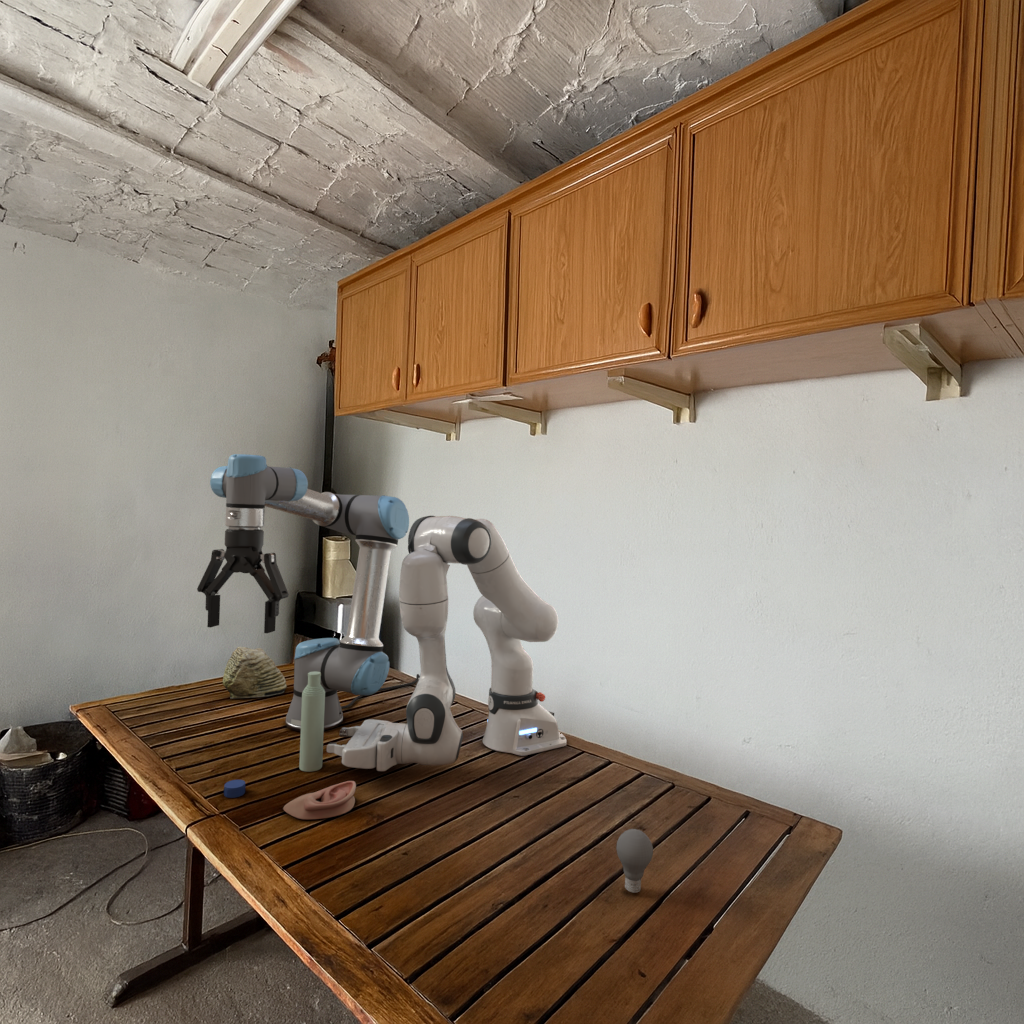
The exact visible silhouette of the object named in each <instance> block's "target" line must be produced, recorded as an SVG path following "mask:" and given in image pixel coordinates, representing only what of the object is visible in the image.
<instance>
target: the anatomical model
mask: <svg viewBox="0 0 1024 1024" xmlns="http://www.w3.org/2000/svg"><path fill="white" fill-rule="evenodd" d="M356 790H357V783H356V781H354V780H347V781H343V782H340V783H336V784H333V785H330V786H328V787H325V788H323V789H320V790H318V791H315V792H309V793H306V794H302V795H300V796H298V797H296V798H294V799H292V800H290V801H289V802H287V803H286V804H285V805H284V806H283V807H282V810H283V812H285V813H287V814H288V815H289V816H292V817H294V818H296V819H299V820H319V819H320V820H321V819H328V818H333V817H337V816H341V815H343V814H347V813H348V812H350V811H351V810H352V809H353V808H354V806H355V803H356V798H355V796H354V795H355V793H356Z"/></svg>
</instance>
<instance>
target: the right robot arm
mask: <svg viewBox="0 0 1024 1024" xmlns="http://www.w3.org/2000/svg"><path fill="white" fill-rule="evenodd" d="M407 550H408V554H407V555H405V557H404V558H403V560H402V562H401V568H400V574H399V588H398V589H399V590H398V596H399V597H398V598H399V600H398V601H399V612H400V618H401V623H402V627H403V629H404V630H405V631H406V632H407V633H408V634H409V635H411V636H413V637H415V638H416V640H417V643H418V652H419V665H420V674H419V676H420V677H419V679H418V681H417V682H416V683H415V687H414V691H413V692H412V693H411V696H410V698H409V700H408V702H407V705H406V709H405V716H406V723H402V722H399V723H398V722H392V721H389V720H385V719H384V720H383V719H373V718H368V719H365V720H364V721H363V722H362V723H361V725H355V726H351V727H350V726H349V727H341V728H340V730H339V737H340V738H347V737H351V738H350V739H349V740H348V742H347V743H346V744H342V745H341V744H337V742H328V744H327V745H326V753H328V754H334V755H337V756H339V757H341V764H342V765H343V766H345V767H347V768H353V769H354V768H355V769H364V770H368V769H369V770H370V769H375V768H376V771H377V772H386V771H387V770H389V769H390V768H392V767H393V766H394V767H395V766H396V765H406V764H411V763H413V764H418V765H421V766H447V765H451V764H454V763H455V762H456V761H458V759H459V756H460V752H461V748H462V744H463V738H464V732H463V730H462V729H461V728H460V727H459V726H458V723H457V722H456V721H455V718H454V716H453V714H452V710H451V707H452V705H453V704H454V701H455V699H456V685H455V684H454V681H453V679H452V677H451V675H450V672H449V670H448V666H447V653H446V652H447V651H446V638H445V636H446V630H447V624H448V619H449V587H448V579H447V576H448V575H447V574H448V571H449V568H450V566H451V565H450V564H461V565H464V566H467V568H468V570H469V573H470V575H471V577H472V579H473V581H474V583H475V585H476V588H477V589H478V591H479V593H480V594H481V596H480V597H479V598H478V599H477V600H476V602H475V604H474V606H473V611H472V612H473V621H474V623H475V624H476V626H477V627H478V628H479V629H480V631H481V632H482V635H483V637H484V638H485V641H486V644H487V648H488V650H489V655H490V663H491V665H490V666H491V667H490V669H491V670H490V671H491V672H490V673H491V674H490V675H491V676H490V687H489V689H488V699H487V705H488V717H487V719H486V720H487V723H486V727H485V730H484V733H483V737H482V744H483V745H484V746H485V747H486V748H488V749H491V750H493V751H496V752H502V753H509V754H514V755H516V756H521V757H524V756H528V755H534V754H537V753H542V752H546V751H550V750H555V749H560V748H563V747H566V746H567V745H568V743H567V741H568V740H567V738H566V736H565V735H564V734H563V733H562V732H560V731H559V724H558V721H557V719H556V717H555V712H554V711H549V710H547V709H546V708H545V707H544V706H542V705H541V704H540V703H539V702H541V703H542V702H544V701H545V700H546V695H545V694H544V693H543V692H539V691H537V690H536V689H534V688H533V686H534V685H533V683H534V661H533V659H532V657H531V656H530V654H529V653H528V652H527V651H526V650H525V648H524V646H523V644H522V642H528V643H545V642H549V641H550V640H551V639H552V638H553V637H554V636H555V635H556V633H557V631H558V629H559V615H558V612H557V610H556V608H555V607H554V606H553V605H551V604H549V603H548V602H546V601H545V600H544V599H542V598H541V596H539V595H538V594H537V593H536V592H535V590H533V589H532V587H531V586H530V585H529V584H528V583H527V582H526V581H525V579H524V578H523V577H522V575H521V573H520V572H519V570H518V568H517V566H516V564H515V562H514V560H513V557H512V555H511V553H510V551H509V549H508V546H507V544H506V542H505V540H504V538H503V537H502V535H501V534H500V532H499V530H498V529H497V528H496V526H495V525H494V524H493V522H491V521H490V520H488V519H485V518H476V519H474V518H471V517H467V518H466V517H461V516H456V515H426V516H422V517H419V518H418V519H416V520H415V521H414V522H413V523H412V525H411V527H410V529H409V531H408V536H407ZM560 733H561V734H560Z"/></svg>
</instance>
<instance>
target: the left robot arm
mask: <svg viewBox="0 0 1024 1024" xmlns="http://www.w3.org/2000/svg"><path fill="white" fill-rule="evenodd" d="M209 481H210V482H209V485H210V489H211V491H212V492H213V494H215V496H217V497H219V498H222V499H223V498H224V499H225V500H226V501H225V523H224V524H225V525H224V526H226V527H227V528H226V529H225V530H224V546H225V547H226V548H225V549H223V548H220V549H213V550H212V551H211V557H210V561H209V563H208V565H207V567H206V569H205V571H204V573H203V575H202V578H201V580H200V581H199V583H198V586H197V588H196V590H197V592H198V593H202V594H204V596H205V611H207V628H214V627H217V626H220V616H221V615H220V614H221V613H220V612H221V594H219V591H220V590H221V589H222V587H224V585H225V584H226V582H227V581H228V580H229V579H230V578H231V576H232V575H233V574H234V573H237V574H238V573H241V574H249V575H250V576H252V577H253V578H254V580H255V581H256V584H258V586H259V587H260V589H261V590H262V592H263V593H264V595H265V596H266V598H267V600H266V601H265V602H264V623H263V624H264V626H263V628H264V629H263V633H264V634H270V633H273V632H275V631H276V620H277V619H276V617H279V614H280V602H281V600H283V599H287V598H288V597H289V596H290V595H289V591H288V588H287V586H286V584H285V582H284V581H285V580H284V579H283V576H282V573H281V571H280V569H279V566H278V563H277V554H276V552H267V553H263V550H262V549H263V547H264V539H265V537H264V536H265V531H264V530H263V529H262V528H264V527H265V513H266V512H265V510H266V508H269V509H272V510H276V511H280V512H284V513H287V514H291V515H293V516H298V517H301V518H306V519H308V520H312V522H313V523H314V524H315V525H317V526H320V527H322V528H323V527H324V528H327V529H330V530H333V531H336V532H339V533H342V534H346V535H350V536H355V538H354V539H355V540H354V542H355V543H356V544H357V545H358V547H359V551H358V556H357V557H358V558H357V564H356V569H355V577H354V578H355V579H354V584H353V590H352V596H351V597H352V598H351V604H350V610H349V617H348V623H347V631H346V635H345V636H344V637H343V638H342V639H340V640H339V638H336V637H322V638H313V639H307V640H304V641H302V642H299V643H298V644H297V645H296V647H295V652H294V653H295V654H294V657H293V659H294V660H293V662H294V663H293V665H294V667H293V695H292V696H293V697H292V699H291V702H290V704H289V708H288V711H287V713H286V715H285V726H286V728H287V729H289V730H291V731H294V732H295V731H296V732H301V710H302V692H303V690H304V689H305V687H306V686H307V685H308V673H309V672H314V671H317V672H320V673H321V679H320V684H321V686H322V687H323V688H324V690H325V709H324V732H325V731H329V730H332V729H335V728H337V727H339V726H340V725H342V723H343V722H344V714H343V710H345V709H349V708H350V707H351V706H353V705H354V704H355V702H356V701H358V700H359V699H361V698H363V697H365V696H372V695H374V694H376V693H377V692H382V691H387V690H388V691H389V690H395V689H399V688H404V687H409V686H412V685H416V684H417V682H418V680H419V677H420V674H419V673H417V674H416V678H415V680H413V681H411V682H407V683H402V684H397V685H392V686H385V687H383V685H384V684H385V682H386V680H387V678H388V675H389V672H390V660H389V656H388V655H387V654H386V653H385V652H384V651H383V650H384V644H383V642H382V641H381V640H380V631H381V624H382V617H383V610H384V605H385V604H384V603H385V595H386V589H387V582H388V577H389V568H390V563H391V562H390V561H391V553H392V552H393V551H394V550H395V549H396V548H397V547H398V544H399V540H401V539H403V538H405V537H406V535H407V533H408V532H409V527H410V515H409V511H408V509H407V506H406V504H405V503H404V501H402V499H400V497H399V498H398V497H396V496H391V495H383V494H382V495H377V494H376V495H374V494H373V495H372V494H369V495H368V494H339V493H333V492H331V491H324V492H319V491H316V490H313V489H309V488H308V486H309V481H308V478H307V475H306V474H305V473H304V472H303V471H302V470H300V469H298V468H294V467H293V468H292V467H285V466H283V467H282V466H270V465H269V466H268V464H267V458H266V457H265V456H263V455H260V454H259V455H258V454H247V453H246V454H244V453H234V454H231V455H229V457H228V460H227V465H223V466H219V467H217V468H215V469H214V470H213V472H212V473H211V475H210V480H209ZM224 560H225V561H226V562H225V564H224V565H223V562H224ZM262 564H264V567H263V565H262ZM222 565H223V567H222ZM220 569H221V570H220ZM338 692H344V693H350V694H352V695H355V696H356V697H354V698H353V699H352V700H351V701H350V702H349V703H348V704H346V705H341V702H340V699H339V695H338Z"/></svg>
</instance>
